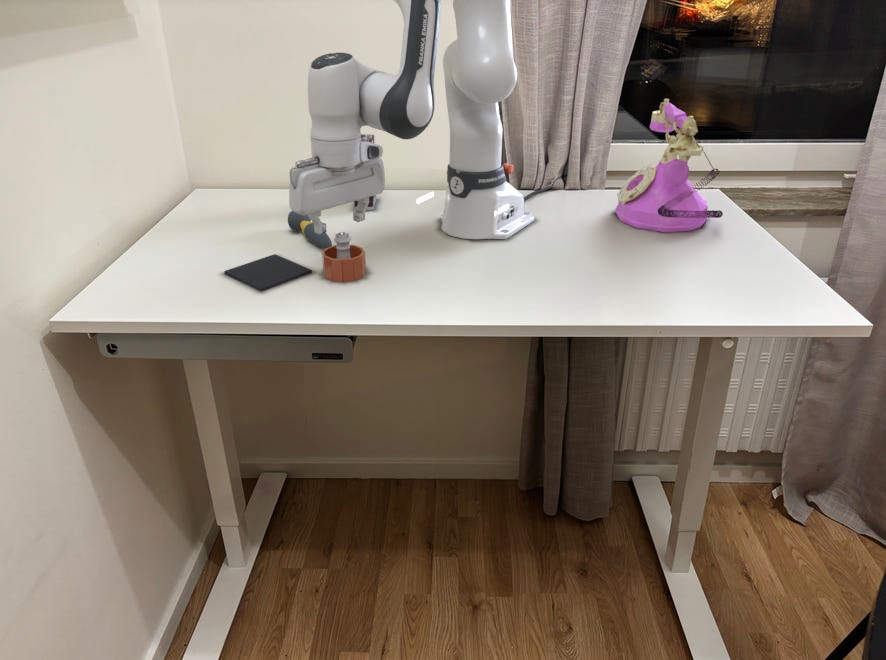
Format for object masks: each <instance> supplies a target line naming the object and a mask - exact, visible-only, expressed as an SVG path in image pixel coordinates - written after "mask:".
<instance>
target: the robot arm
mask: <svg viewBox="0 0 886 660" xmlns="http://www.w3.org/2000/svg"><path fill="white" fill-rule="evenodd" d="M393 1H394V3H396V4H397V6H398V7H399V9H400V11H401V14H402V19H403V32H402V34H403V35H402V40H401V41H402V43H401V52H400V61H399V69H398V72H397V73H396V74H393V73H388V72H386V71H380V70H377V69H375V68H372V67H369V66H367V65H365V64H363V63H361V62H360V61H358V60H357V59H356V58H355V57H354V56H353V55H352V54H351V53H349V52H348V53H347V52H333V53H331V52H330V53H325V54H322V55H320V56H318V57H316V58H315V59H313V60H312V62H311V63H310V66H309V69H308V74H307V105H308V106H307V107H308V113H309V116H310V119H311V128H310V132H309V134H310V135H309V136H310V149H311V150H310V151H311V157H310V158H307V159H301V160H298V161H295V163H294V164H293V165H292V167H291V168H290V170H289V187H288V188H289V190H288V198H289V199H288V205H289V206H288V207H289V209H290V211H293V212H295V213H297V214H300V215H308V216H309V218H310V219H311V222H313V223H314V231H315V233H317V234H322V233H325V232H326V233H327V223H325V222H323V221H321V219H320V217H321V216H322V211H326V210H329V209H332V208H336V207H339V206H343V205H346V204H350V203H354V201H359V202H358V205H357V208H356V210H354V211H352V219H353V221H354V222H357V223H360V222H364V221H365V220H366V214H365V213H366V211H367V210H366V208H367V206H368V204H369V197H370V196H374V195H376V196H377V195H380V194H382V193H383V191H384V189H385V185H386V176H385V165H384V161H383V160H382V157H383V155H384V148H383V145H380V144H377V143H375V142H374V143H371V142H367V141H365V140H361V135H362V133H361V129H362V127H365V126H367V127H369V128H372V129H375V130H379V131H383V132H386V133H387V134H390V135H392V136H394V137H397V138H399V139H401V140H412V139H414V138H416V137H418V136H419V135H421V134H423V132H424V131H425V130H426V129H427V128H428V127H429V125H430V124H431V122H432V119H433V117H434V112H435V88H434V87H435V85H434V84H435V71H436V60H437V51H438V43H439V42H438V41H439V34H440V33H439V31H440V24H441V23H440V22H441V8H442V0H393ZM511 1H512V0H452V7H453V11H454V19H455V27H456V38H457V39H455V40H453V41H452V42H451V43H449V45H448V46H447V47H446V49H445V50H444V53H443V57H442V70H443V74H444V75H443V76H444V89H445V98H446V99H445V100H446V108H447V116H448V117H447V118H448V125H449V126H448V127H449V154H448V155H449V156H448V157H449V159H448V160H449V163H448V164H447V168H446V182H447V186H446V188H445V196H444V205H443V214H441V215H440V222H441V227H440V229H441V231H442V232H443V233H445V235H447V236H451V237H454V238H459V239H464V240H465V239H466V240H490V239H491V240H493V239H494V240H506V239H509V238H510V237H512V236H514V235H515V234H517V233H518V232H519V231H521V230H522V229H524V228H525V227H526V226H529V225H530V224H532V223H533V222H534V221H535V216H534V215H533V214H532V213H530V212H528V211H526V210H525V202H526V201H527V200H528V199H529V198H531V197H532V196H534V195H537V194H539V193H541V192H545V191H547V190H549V189H551V188H552V187H553V186H549V185H548V186H546V187H542V188H539V189H537V190H534V191H532V192H530V193H529V194H527V195H526V196H525V197H524V195H523V194H522V193H521V192H520V191H519V189H516V187H514V186H513V185H512V184H511V183H510V182H508V181H507V178H506V174H508V175H512V174H514V169H515V168H514V167H515V166H514V164H510V163H506V162H505V163H504V164H502V155H503V153H502V152H503V132H504V131H503V129H504V128H503V124H502V120H501V114H500V108H499V103H501V102H502V101H504V100H505V99H507V98H508V97H509V96H511V94H512V92H513V91H514V89H515V87H516V84H517V80H518V79H517V78H518V72H517V71H518V70H517V66H516V63H515V59H514V58H515V57H514V41H513V27H512V15H511V4H512V3H511ZM433 197H434V191H431V192H429V193H426V194H425V195H422V196H421V197H418V198H416V204H420V203H422V202H424V201H427V200H428V199H431V198H433Z"/></svg>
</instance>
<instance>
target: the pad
mask: <svg viewBox="0 0 886 660" xmlns="http://www.w3.org/2000/svg"><path fill="white" fill-rule="evenodd" d="M310 274H313V269H311V268H308V267H307V266H304V265H301V264H298V263H296V262H295V261H292V260H289V259H287V258H285V257H284V256H283V257H282V256H281V255H279V254H276V253H273V254H271V255H268V256H265V257H263V258H259V259H255V260H253V261H250V262H248V263H244V264H242V265H238V266H236V267H233V268H230V269H227V270H224V275H226V276H228V277H230V278H231V279H234V280H235V281H239V282H241V283H243V285H244V284H245V285H247V286H249V287H251V288H252V289H254V290H257V291H259V292H264V291H266V290H269V289H272V288H275V287H278V286H281V285H283V284H285V283H288V282H292V281H294V280H297V279H299V278H302V277H304V276H307V275H310Z"/></svg>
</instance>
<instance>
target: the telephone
mask: <svg viewBox="0 0 886 660" xmlns="http://www.w3.org/2000/svg"><path fill="white" fill-rule="evenodd" d="M694 117H695V116H693V115H689V116H688V115H687V113H686V112H685V111H683V110H681V109H680V108H677V106H676V105H674V104H673V103H671V102H670V99H669V98H664V99H663V102H660V105H659V110H654V111H652V114H651V119H650V124H649V129H650V131H652V132H656V133H665V140H666V142H667V144H668V145H667V147H666V148H665V150H664V152H663V153H662V156H661V158H660V160H659V162H658V164H657V165H656V166H655V167H654V166H653V165H651V164H649V165H647V166H645V167H643V168H641V169H639V170H637V171H636V172H634V173H633V175H632V176H630V177H629V178H627V180H626V181H625V182H624V183H623V185H622V186H621V187H620V189H619V191H618V192H617V201H618V203H617V205H616V208H615V214H616V216H617V218H618V219H619V221H620V222H622V223H624V224H627V225H629V226H631V227H633V228H635V229H636V228H637V229H643V230H648V231H653V232H661V233H679V232H691V231H694V230H697V229H700V228H701V227H702V226H703V225H704V224H705V223H706V222H707V220H708V219H711V218H713V219H718V218H719V219H720V218H722V216H723V215H724V212H723V211H722V210H720V209H719V210H715V209H714V210H708V208H709V206H708V203H707V201H706V199H705V198H704V197H703V196H702V195H701V194H700V193H699V191H700V190H702V189H703V186H704V187H706V186H707V185H708V184H711V183H710V182H712V181H713V180H714V179H715V178H717V176H718V174H720V170H719V169H718V168H714V166H713V165H712V163H711V161H710V160H709V158H708V156H707V154H706V152H705V151H704V146H703V145H701V143H700V141H699V139H698V137H697V133H698V132H699V130H698V125H697V121H696V120H695V119H694ZM673 131H675V133H677V134H676V135H670V133H671V132H673ZM694 136H695V137H696V138H695V137H694ZM702 153H703V154H704V155H705V158H706V159H707V161H708V163H709V165H710V167H711V168H712V169H711V170H710V172H708V174H707V175H706V176H705V177H704V178H701V180H699V181H698V182H696V184H695V185H694V186H693V185H692V183H691V182H690V180H689V176H690V167H689V165H688V161H689V160H690V158H692V157H697V156H701V155H702ZM697 187H698V188H697ZM695 188H697V189H695Z"/></svg>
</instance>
